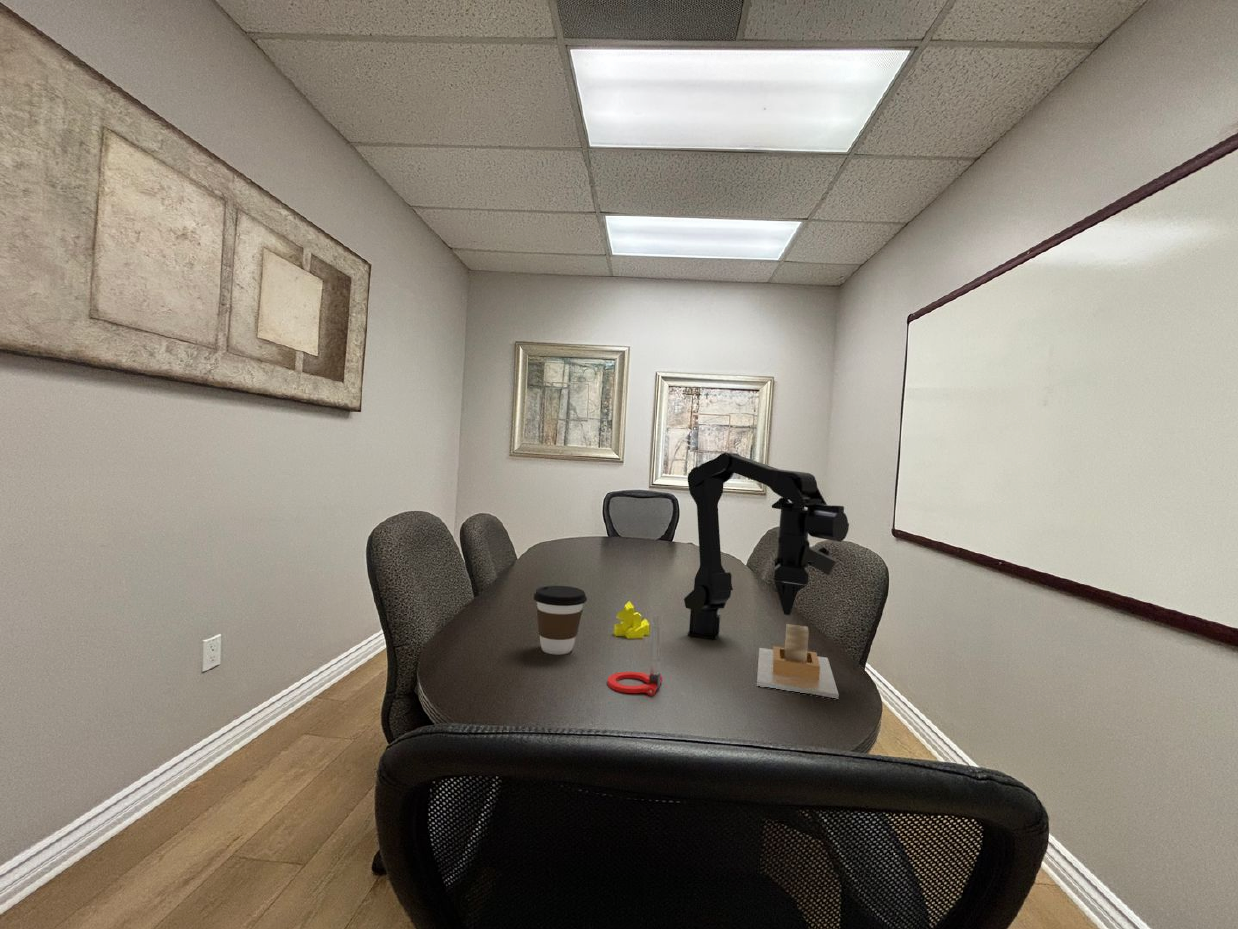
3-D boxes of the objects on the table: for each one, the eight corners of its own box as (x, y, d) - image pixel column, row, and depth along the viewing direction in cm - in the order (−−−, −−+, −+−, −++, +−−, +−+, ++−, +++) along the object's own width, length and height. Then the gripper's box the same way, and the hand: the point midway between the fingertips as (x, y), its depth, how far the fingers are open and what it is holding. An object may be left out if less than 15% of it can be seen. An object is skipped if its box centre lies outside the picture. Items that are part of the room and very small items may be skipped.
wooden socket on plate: (756, 686, 102) (757, 667, 102) (758, 652, 121) (760, 636, 121) (838, 700, 98) (839, 680, 98) (827, 662, 117) (828, 646, 117)
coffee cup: (519, 652, 111) (523, 592, 111) (546, 637, 121) (550, 582, 121) (568, 662, 107) (572, 600, 107) (592, 646, 117) (595, 590, 117)
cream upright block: (784, 670, 108) (786, 629, 108) (783, 663, 112) (786, 623, 112) (805, 673, 107) (808, 632, 107) (804, 666, 111) (807, 626, 111)
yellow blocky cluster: (652, 638, 126) (654, 604, 126) (618, 639, 124) (621, 604, 124) (643, 630, 132) (645, 597, 132) (611, 631, 129) (613, 597, 129)
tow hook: (601, 692, 96) (653, 699, 93) (602, 616, 96) (655, 621, 94) (615, 675, 104) (663, 681, 101) (616, 606, 104) (665, 610, 102)
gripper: (840, 544, 102) (832, 628, 103) (831, 532, 120) (824, 604, 121) (777, 537, 105) (770, 618, 106) (777, 526, 123) (771, 596, 124)
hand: (786, 609), depth 114 cm, fingers open, 9 cm apart
